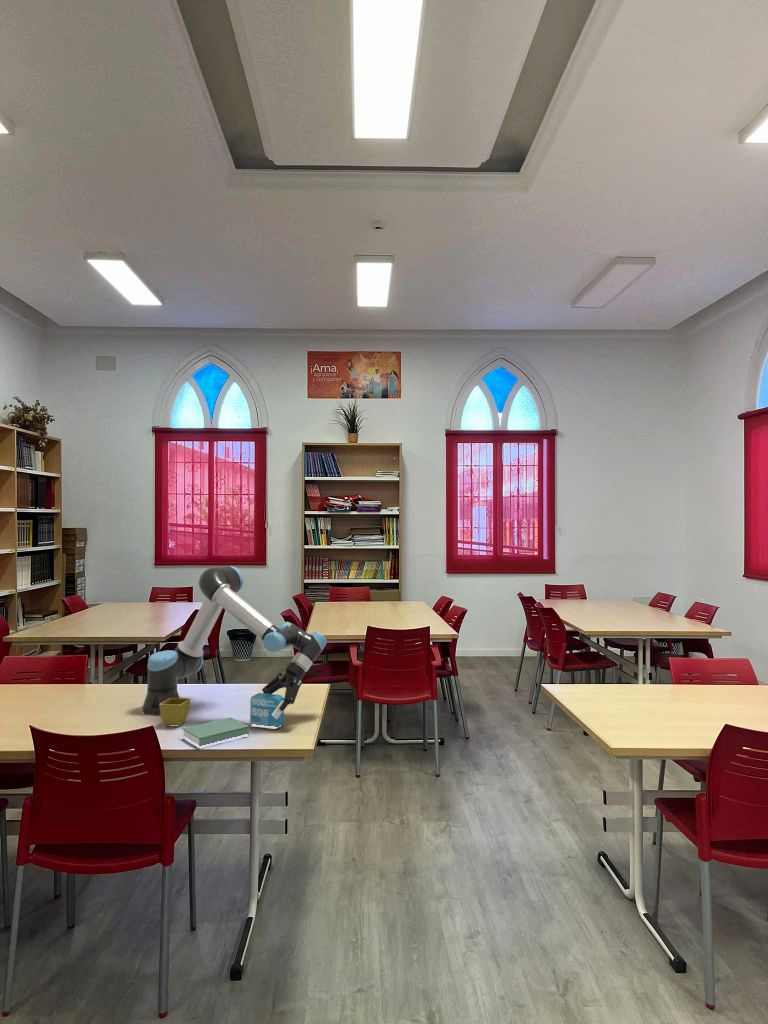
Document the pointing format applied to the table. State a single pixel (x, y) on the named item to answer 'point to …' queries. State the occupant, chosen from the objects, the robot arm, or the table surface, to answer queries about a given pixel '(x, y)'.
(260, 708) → the data package
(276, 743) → the table surface
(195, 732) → the green book
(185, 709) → the flower pot
